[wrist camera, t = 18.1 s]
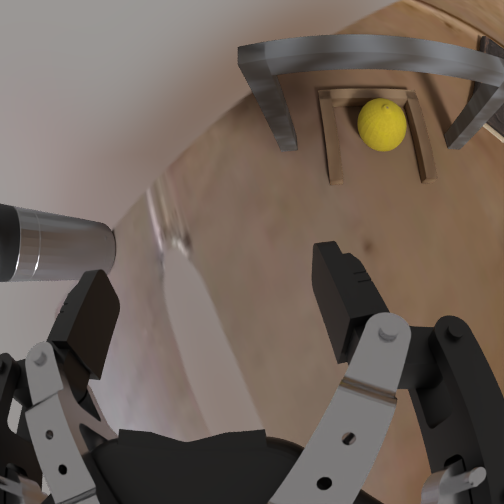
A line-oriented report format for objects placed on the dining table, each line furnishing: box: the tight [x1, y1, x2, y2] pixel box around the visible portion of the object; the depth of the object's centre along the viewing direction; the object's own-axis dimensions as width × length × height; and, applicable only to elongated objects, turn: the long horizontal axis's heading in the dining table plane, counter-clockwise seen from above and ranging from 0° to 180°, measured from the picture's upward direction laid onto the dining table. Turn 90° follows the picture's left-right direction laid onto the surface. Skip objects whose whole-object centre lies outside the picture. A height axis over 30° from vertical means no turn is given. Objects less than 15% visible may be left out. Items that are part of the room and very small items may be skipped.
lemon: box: [357, 98, 406, 151], centre depth 25 cm, size 6×6×8 cm
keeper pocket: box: [238, 34, 504, 185], centre depth 21 cm, size 24×12×17 cm, turn 91°
